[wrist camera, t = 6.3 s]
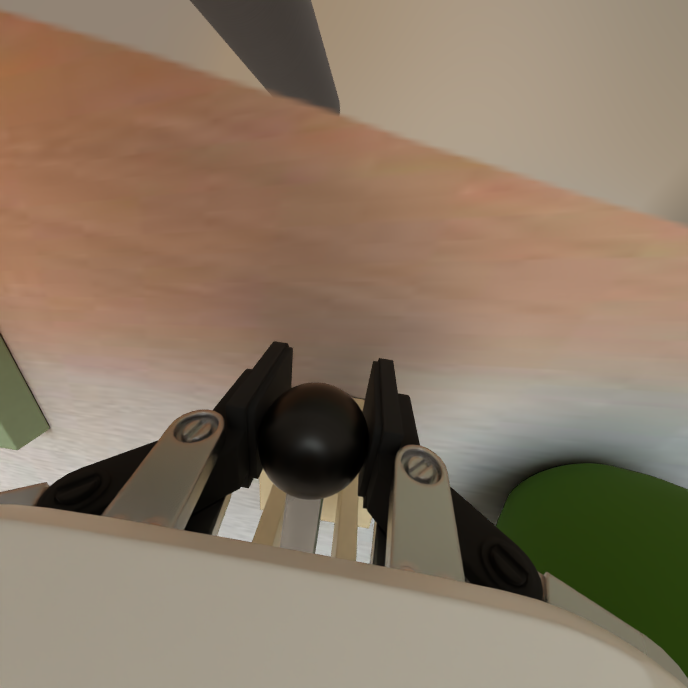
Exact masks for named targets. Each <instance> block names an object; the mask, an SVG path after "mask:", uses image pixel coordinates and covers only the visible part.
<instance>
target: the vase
mask: <svg viewBox="0 0 688 688" xmlns="http://www.w3.org/2000/svg"><path fill="white" fill-rule="evenodd" d="M496 527H497V528H498V529H499V530H501V531H502V532H503V533H504V534H505V535H506V536H507V537H509V538H510V539H511V540H512V541H513V542H514V543H515V544H517V545H518V546H519V547H520V548H521V549H522V550H523V551H524V552H525V554H526V555H527V556H528V557H529V559H530V560H531V561H532V563H533V564H534V566H535V568H536V570H537V571H538V572H540V573H541V574H543V575H544V574H545V573H546V572H548V573H550V574H551V575H553V576H554V577H556V578H557V579H559V580H561V581H562V582H564V583H565V584H567V585H568V586H570V587H571V588H573V589H574V590H576V591H577V592H579V593H581V594H582V595H584V596H585V597H587V598H588V599H590V600H591V601H593V602H594V603H596V604H598V605H599V606H601V607H602V608H604V609H605V610H607V611H608V612H610V613H611V614H613V615H614V616H616V617H618V618H619V619H621V620H622V621H624V622H625V623H627V624H628V625H630V626H631V627H633V628H634V629H636V630H638V631H639V632H641V633H642V634H644V635H645V636H647V637H648V638H649V639H651V640H652V641H653V642H654V643H656V644H657V645H658V646H659V647H661V648H662V649H663V650H664V651H665V652H666V653H667V654H668V655H669V656H670V657H671V658H672V659H673V661H674V662H675V663H676V664H677V665H678V666H679V667H680V668H681V670H682V671H683V673H684V674H685V675H686V677H687V678H688V489H685V488H683V487H680V486H678V485H675V484H673V483H670V482H667V481H665V480H662V479H659V478H656V477H653V476H650V475H646V474H642V473H638V472H634V471H630V470H626V469H622V468H618V467H614V466H610V465H604V464H596V463H580V464H569V465H564V466H559V467H554V468H551V469H548V470H545V471H542V472H540V473H538V474H535V475H533V476H531V477H529V478H528V479H526V480H525V481H523V482H521V483H520V484H519V485H518V486H517V487H516V488H515V489H513V490H512V492H511V493H510V495H509V496H508V497H507V500H506V502H505V505H504V507H503V509H502V512H501V514H500V517H499V519H498V522H497V525H496Z"/></svg>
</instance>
